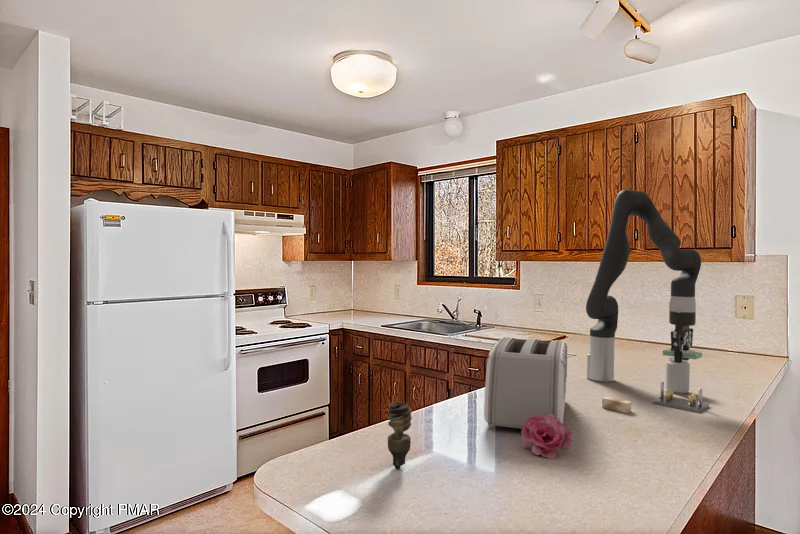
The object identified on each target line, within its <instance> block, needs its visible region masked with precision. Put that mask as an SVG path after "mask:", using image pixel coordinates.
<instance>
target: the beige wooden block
mask: <svg viewBox="0 0 800 534" xmlns="http://www.w3.org/2000/svg"><path fill="white" fill-rule="evenodd" d="M601 403H602V404H601V408H602V409H603V408H604V409H607V410H612V411H616V412H620V413H625V414H628V413H631V411H632V401H630V400H625V399H620V398H615V397H610V396H604V397H602V402H601Z"/></svg>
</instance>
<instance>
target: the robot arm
mask: <svg viewBox="0 0 800 534" xmlns="http://www.w3.org/2000/svg"><path fill="white" fill-rule="evenodd" d="M630 216H634V217H638V218H640V219H641V220H643V221H644V222H645V224H646V227H647V234H648V236H649V238H650V240H651V242H652V243H653V244H654V245H655V246H656V248H658V249H659V251H660V254H661V257H662V260H663V262H664V264H665V265H666V267H668V269H670V270H672V271H675V272H678V271H679V272H680V274H679V276H678V277H676V278H673V279H672V280H671V282H670V300H669V324H670V325H674V326H675V327H674V330H671V331H670V345H671V347H670V349H673V350H674V357H673V358H674V362H676V363H682V360H688V361H689V360H690V359H688V358H682V350H685V351H688V350H691V347H693V339H694V328H691V327H693V326H696V315H697V311H696V309H697V307H696V305H697V304H696V303H697V302H696V282H697V280H698V277H699V273H700V271H701V266H702V258H701V254H700V253H699V252H698V251H697V250H695V249H691V248H690V249H689V248H688V249H684V248H683V249H681V248H680V247H681V245H682V242H681V239H680V238H679V236H678V235H677V233H675V232H674V231H673V230H672V228H670V226H668V224H667V223H666V222H665V220H664V219H663V218H662V215H661V214H660V212H659V211H658V209H657V208H656V206H655V204H654V202H653V201H652V198H650V196H649V195H648V193H646V192H644V191H641V190H632V189H623V190H621V191H619V192H618V193H617V195H616V197H615V200H614V203H613V208H612V214H611V219H610V225H609V230H608V234H607V237H606V241H605V242H606V243H605V245H604V248H603V250H602V251H603V252H602V254H601V259H600V261H599V262H600V263H599V267H598V270H597V273H596V276H595V279H594V282H593V285H592V288H591V290H590V292H589V295H588V297H587V300H586V304H585V311H586V314H587V316H588V317H589V318H590V319H591V320H597V322H596V324H595V325H593V326H592V327H591V328H589V329H590V330H589V353H588V354H587V356H586V357H587V358H586V361H587V362H586V379H590V380H592V381H594V382H595V381H596V382H601V383H603V382H605V383H608V382H609V383H610V382H614V381H615V340H616V339H615V337H616V332H617V329H618V321H619V303H618V301H617V299H616V298H615V296H612V295H609V292H610V290H611V287H612V286H613V285H614V283H615V282H616V280H618V278H620V276H621V275H622V274H623V272H624V271H625V269H626V267H627V265H628V260H629V257H630V253H631V248H630V242H629V239H628V234H627V224H628V220H629V217H630Z"/></svg>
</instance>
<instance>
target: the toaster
mask: <svg viewBox="0 0 800 534" xmlns="http://www.w3.org/2000/svg"><path fill="white" fill-rule="evenodd" d="M485 373H486V374H485V387H484V401H483V402H484V403H483V404H484V405H483V406H484V407H483V409H484V411H483V413H484V414H483V417H484V421H485V422H486V423H487V426H488V428H487V430H488V431H489V432H496V431H497V428H496V427H504V428H513V429H520V430H522V428H523V427H524V426H525V425H524V424H525V422H526V420H527V419H528V417H530V416H532V417H533V416H534V415H537V414H541V415H542V416H546V415H547V414H549V413H550V414H553V415H554V416H555V417H556V419H559V420H560V421H561V423H562V424H563V425H564V416H565V405H566V395H567V376H568V345H567V343H566V342H563V341H562V340H558V339H556V340H553V339H551V340H541V339H539V340H538V339H537V338H527V339H523V338H515V337H510V336H507V337H503V338H500V339H498V340H496V342H494V344H493V345H492V346H491V348H490V350H489V352H488V355H487V359H486V372H485Z"/></svg>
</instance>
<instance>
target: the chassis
mask: <svg viewBox="0 0 800 534" xmlns="http://www.w3.org/2000/svg"><path fill="white" fill-rule="evenodd" d="M697 398H698V401H697ZM652 405H659V406H664V407H669V408H673V409H674V408H675V409H679V410H683V411H689V412H693V413H698V414H699V413H701V412H703V411H705V410H706V409H708V408H709V407H710V403H708V402H703V388H700V387H698V397H697V394H696V393H692V394H690V395H688V399H686V398H681V397H675V396H674V393H673V390H669V391H668V390H666V391H665V382H664V381H660V396H659V397H657V398H654V399H653V400H652Z"/></svg>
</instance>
